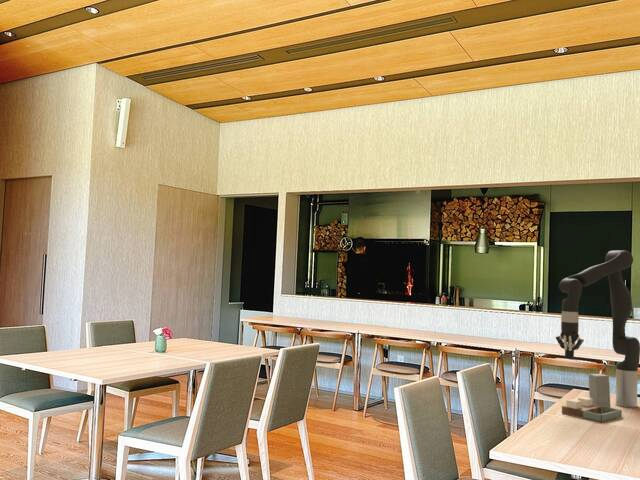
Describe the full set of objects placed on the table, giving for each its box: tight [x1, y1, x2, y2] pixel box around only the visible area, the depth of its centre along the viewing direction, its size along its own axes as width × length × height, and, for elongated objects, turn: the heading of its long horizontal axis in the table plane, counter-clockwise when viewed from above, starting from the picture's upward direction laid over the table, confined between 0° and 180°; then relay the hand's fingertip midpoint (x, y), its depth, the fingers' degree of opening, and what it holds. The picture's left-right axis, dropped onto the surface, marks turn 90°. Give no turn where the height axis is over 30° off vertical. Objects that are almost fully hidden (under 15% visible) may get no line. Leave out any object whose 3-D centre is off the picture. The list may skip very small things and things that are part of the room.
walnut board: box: [561, 404, 602, 419], centre depth 269 cm, size 16×10×3 cm, turn 129°
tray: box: [582, 406, 623, 423], centre depth 261 cm, size 18×8×3 cm, turn 129°
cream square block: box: [566, 398, 581, 409], centre depth 266 cm, size 4×4×3 cm
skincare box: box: [588, 373, 612, 411], centre depth 281 cm, size 8×7×16 cm
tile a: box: [577, 396, 593, 406], centre depth 273 cm, size 4×4×3 cm
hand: (569, 358), depth 280 cm, fingers closed
